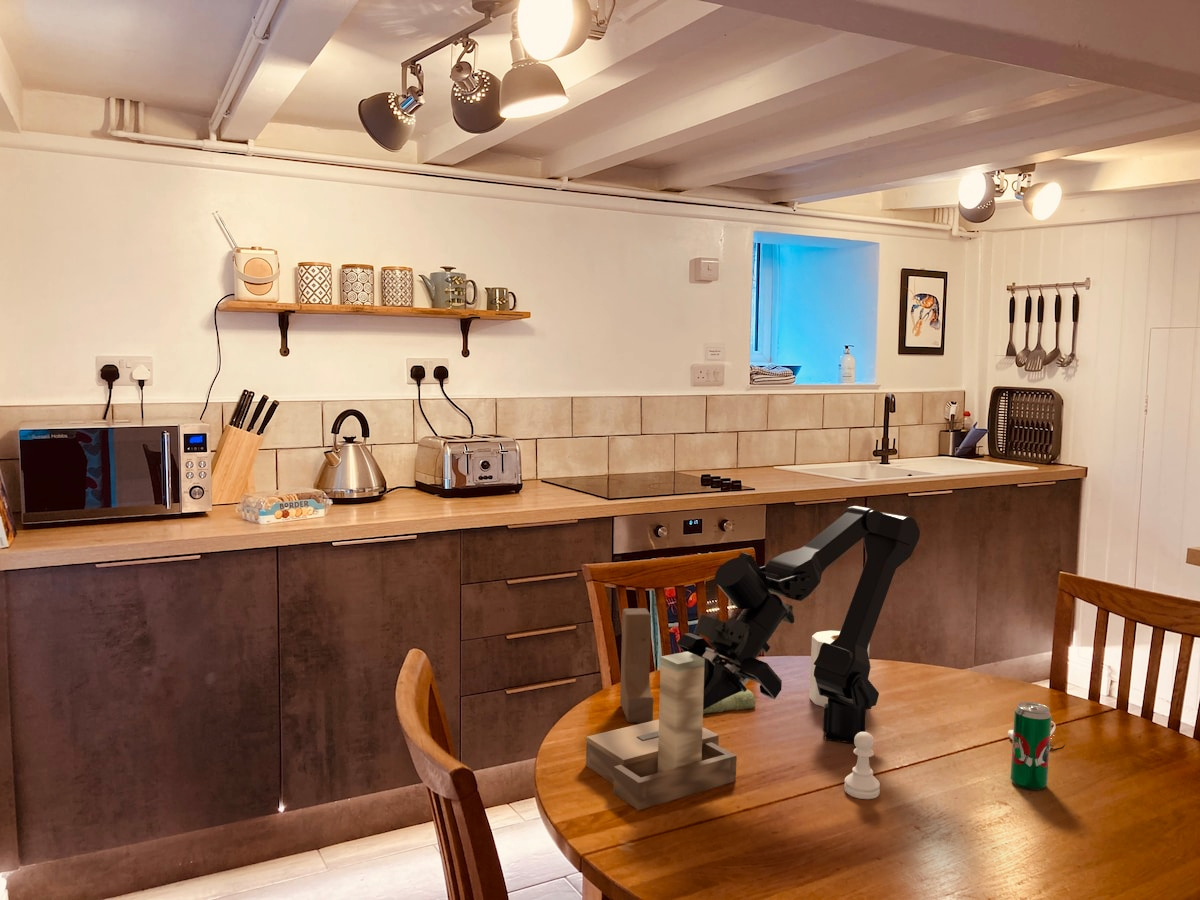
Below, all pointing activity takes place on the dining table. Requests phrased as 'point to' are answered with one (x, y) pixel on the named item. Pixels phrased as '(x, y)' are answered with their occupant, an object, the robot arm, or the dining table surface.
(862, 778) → the chess pawn
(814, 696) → the toilet paper
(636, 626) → the wooden block
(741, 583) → the robot arm
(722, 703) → the washcloth
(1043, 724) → the soda can
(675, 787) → the box with sliding lid
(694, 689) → the tall beige rectangular block
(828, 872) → the dining table surface
